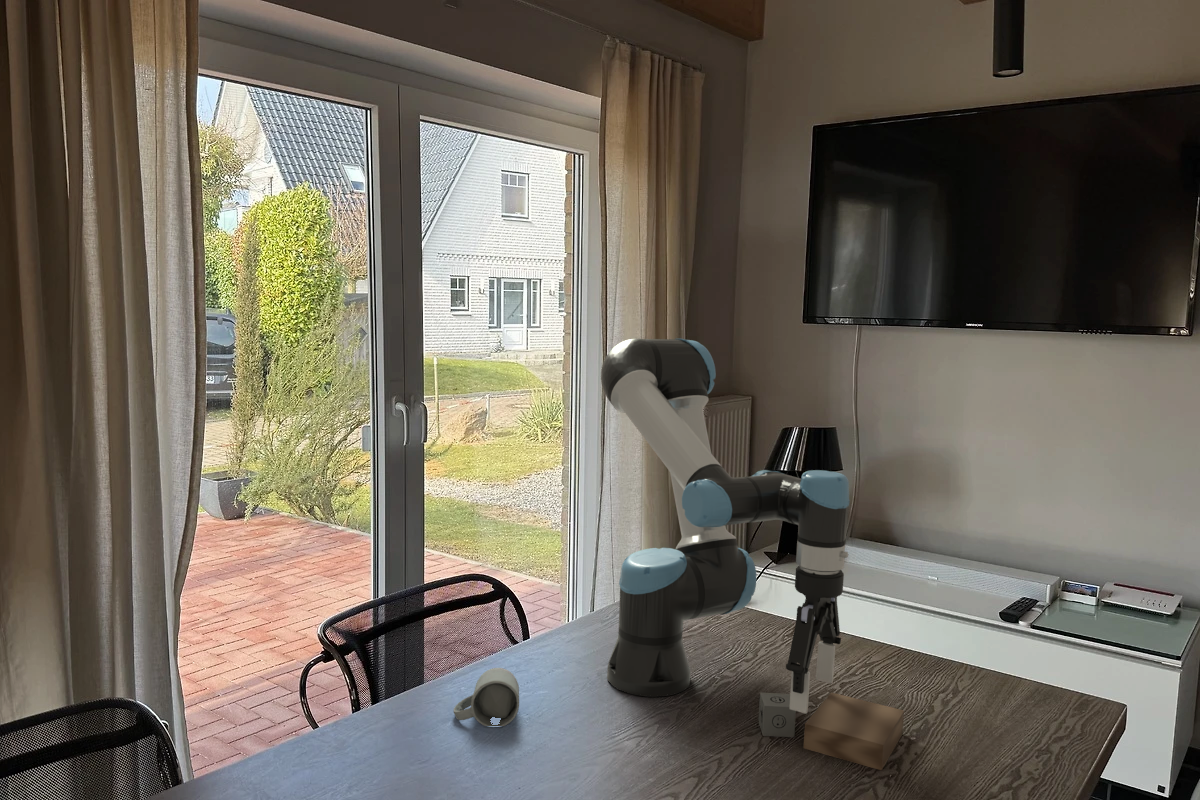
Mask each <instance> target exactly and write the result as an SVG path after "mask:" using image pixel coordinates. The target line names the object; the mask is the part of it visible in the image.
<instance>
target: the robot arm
mask: <svg viewBox="0 0 1200 800" xmlns="http://www.w3.org/2000/svg"><path fill="white" fill-rule="evenodd" d="M714 362H715V361H714V359H713V357H712V355H711V352H710V351H709V350H708V348H706V346H705V345H703V344H701V343H700V342H699V341H696V340H692V339H691V340H690V339H684V338H681V337H680V338H669V339H668V338H665V339H664V338H631V339H630V338H629V339H626V340H623V341H620V342H619V343H618V344H616V345H615V346H613V347H612V349H611V350H610V351H609V352H608V353H607V354H606V356H605V359H604V360H603V363H602V366H601V370H600V371H601V372H600V381H601V386H602V389H603V392H604V395H605V397H606V398H607V400H608V401H609V403H610V404H611V406H612V407H613V408H614V409H615V410H616V411H618V412H620V413H624V414H625V415H626V416H627V418H628V419H629V420H630V421H631V423H632V424H633V426H635V428H636V429H637V430H638V432H639V433H640V435H641V436H642V437H643V438H644V440H645V442H647V444H648V445H649V447H650V448H651V449H652V450H653V452H654V453H655V454H656V456H657V457H658V458H659V459H660V461H661V462H662V463H663V465H664V466H665V467H666V468H667V471H669V475H670V481H671V485H672V491H673V496H674V501H675V506H676V512H677V518H678V523H679V529H680V534H681V538H680V540H679V542H678V543H677V545H676V547H675V548H671V547H661V548H657V547H651V548H645V549H644V548H643V549H641V550H637V551H634V552H633V553H631V554H629V555H628V556H627V557H626V558H625V559H624V561H623V562H622V564H621V570H620V577H619V582H618V585H619V604H618V605H619V608H618V609H619V611H618V631H617V633H618V636H617V639H616V642H615V645H614V648H613V650H612V652H611V655H610V658H609V661H608V663H607V668H606V669H607V671H606V674H607V675H606V679H608V680H607V681H609V682H610V683H611V684H612V685H613V686H614V687H613V686H612V685H611V684H610V683H609V682H608V683H609V684H610V685H611V686H612V687H613V688H615V687H616V688H615V689H617V688H618V689H617V690H618V691H621V690H622V691H621V692H623V691H624V693H626V692H627V693H626V694H629V695H633V696H640V697H642V696H643V697H653V698H654V697H666V696H668V697H669V696H673V695H676V694H678V693H682V692H684V691H685V690H687V689H688V687H690V685H691V668H690V663H689V660H688V656H687V652H686V649H685V646H684V642H683V632H684V631H683V629H684V628H683V627H684V621H689V620H695V619H701V618H705V617H713V616H718V615H728V614H730V613H733V612H736V611H739V610H742V609H744V608H745V607H747V606H748V605H749V603H750V602H751V600H752V598H753V596H754V594H755V592H756V586H757V580H758V579H757V568H756V565H755V562H754V560H753V558H752V557H751V556H750V554H749V553H748V551H747V550H745V549H744V548H743V549H742V548H741V547H739V546H738V540H737V537H736V536H735V535H733V534H732V533H731V532H729V531H728V530H727V526H732V525H739V524H746V523H747V524H748V523H757V522H758V523H759V522H767V521H773V520H775V521H776V520H779V521H783V522H787V523H789V524H793V525H796V526H798V527H797V529H798V530H797V531H798V532H797V541H796V542H797V543H796V555H795V556H796V557H795V563H796V565H797V566H796V568H795V578H794V579H795V580H794V588H795V590H796V591H797V592H798V593H800V594H802V595H804V597H805V599H804V602H803V603H802V606H801V605H798V606H797V608H796V618H795V625H794V630H793V636H792V639H791V645H790V650H789V656H788V661H787V663H786V664H785V669H786V670H787V671H789V672H791V676H790V678H791V679H790V693H789V694H790V708H789V709H791V710H795V711H796V712H799V713H802V714H808V711H809V700H810V699H809V698H810V697H809V696H810V695H809V694H810V683H811V671H809V667H810V663H811V660H812V657H813V652H814V649H815V646H816V641H817V637H818V635H819V639H820V641H818V643H817V655H816V656H817V658H816V659H817V660H816V670H815V671H816V672H815V673H816V674H815V680H816V681H819V682H824V683H828V684H833V682H834V668H835V658H836V657H835V656H836V644H837V645H840V644H841V641H842V637H839V636H840V635H841V629H840V619H839V618H840V617H839V609H838V597H840V596H841V595H842V594H843V592H844V578H845V577H844V576H845V574H844V572H843V571H842V570H843V569H844V568H845V559H847V558H849V552H848V551H846V549H845V548H846V544H847V543H846V542H847V541H846V540H847V529H848V528H847V527H848V525H847V524H848V515H849V506H850V502H851V500H850V482H849V481H850V480H849V479H848V477H847V476H846V475H845V474H843V473H840V472H836V471H831V470H830V471H829V470H824V469H823V470H820V469H815V470H813V469H811V470H807V471H805V472H803V473H802V474H801V478H800V477H796V476H794V475H793V476H792V475H789V474H786V473H783V472H781V471H778V470H777V471H776V470H768V469H762V470H758V471H757V472H755V473H754V474H752V475H751V476H739V477H737V476H736V477H732V476H731V475H730V474H729V473H728V471H726V469H725V468H724V467H723V466H722V465H721V463H720V461H718V460H717V458H716V457H715V456H714V455H713V454H712V451H711V445H710V441H709V440H710V439H709V434H708V429H707V424H706V419H705V414H704V408H705V407H706V405H707V404H708V402H709V394H710V393H711V392H712V390H713V389H714V386H715V381H714V380H716V376H717V375H716V366H715V363H714Z"/></svg>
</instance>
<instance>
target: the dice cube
mask: <svg viewBox="0 0 1200 800" xmlns="http://www.w3.org/2000/svg"><path fill="white" fill-rule="evenodd" d="M758 708H759V709H758V721H759V722H758V724H759V728H760V730H761V731H760V732H761V734H762V737H763V736H764V737H779V738H780V737H781V738H795V731H796V729H795V728H796V715H797V711H795V710H791V709H789V708H790V693H780V692H779V693H778V692H777V693H775V692H774V693H773V692H759V705H758Z"/></svg>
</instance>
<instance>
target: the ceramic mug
mask: <svg viewBox="0 0 1200 800" xmlns="http://www.w3.org/2000/svg"><path fill="white" fill-rule="evenodd" d="M475 683H476V684H475V687H474V691H473V694H471V695H469V696H467V697H465V698H463V699H462V700H460V701H459V702H458V703H457V704H456V705H455V706H454V708H453V714H454V716H455V718H456V720H458V721H464V720H469V719H471V718H474V719H475V720H476V721H477V722H478V723H479V724H481V726H484V727H486V726H503V727H505V726H507V725H509V724H510V723H511V722H512V721H513V720H514V719H515V718H516V716H517V715H518V712H519V709H520V686H519V683H518V680H517V678H516V676H515V675H514V673H512V671H510V670H508V669H505V668H502V667H494V668H490V669H488V670H486V671H484V672H483V673H482V674H481V675H480V677H479V678H478V680H477V681H476V682H475ZM492 717H495V718H501V720H500V722H499V723H500V724H498V725H492V724H493V723H492V724H491V722H490V721H491V720H490V719H491V718H492Z"/></svg>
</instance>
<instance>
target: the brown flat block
mask: <svg viewBox="0 0 1200 800" xmlns="http://www.w3.org/2000/svg"><path fill="white" fill-rule="evenodd" d="M904 718H905V710H903V709H900V708H896V707H892V706H887V705H883V704H880V703H876V702H871V701H868V700H867V701H866V700H863V699H859V698H856V697H852V696H847V695H843V694H840V693H835V692H832V691H831V692H830V693H829V694H828V695H827V697H826V698H825V699H824V700H823V701H822V703H821V704H820V705H819V706H818V707H817V709H816V710H815V711H814V712H813V714H812V715H811V716H809V718H808V719H807V721H806V722H805V723H804V733H803V734H804V735H803V736H804V737H803V749H805V750H807V751H812V752H816V753H818V754H823V755H825V756H830V757H833V758H837V759H840V760H843V761H847V762H851V763H854V764H858V765H861V766H864V767H868V768H871V769H874V770H878V771H882V770H883V769H884V767H885V766H886V764H887V763H888V760H889V758H890V757H891V755H892V753H893V752H894V750H895V749H896V746H897V744H898V743H899V741H900V739H901V738H902V736H903V731H904V720H905V719H904Z"/></svg>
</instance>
